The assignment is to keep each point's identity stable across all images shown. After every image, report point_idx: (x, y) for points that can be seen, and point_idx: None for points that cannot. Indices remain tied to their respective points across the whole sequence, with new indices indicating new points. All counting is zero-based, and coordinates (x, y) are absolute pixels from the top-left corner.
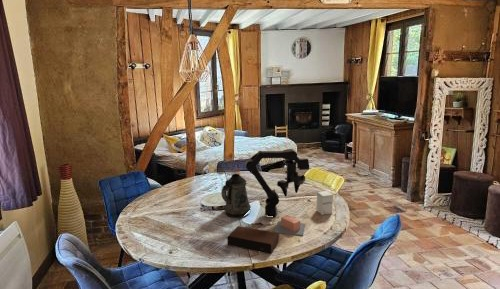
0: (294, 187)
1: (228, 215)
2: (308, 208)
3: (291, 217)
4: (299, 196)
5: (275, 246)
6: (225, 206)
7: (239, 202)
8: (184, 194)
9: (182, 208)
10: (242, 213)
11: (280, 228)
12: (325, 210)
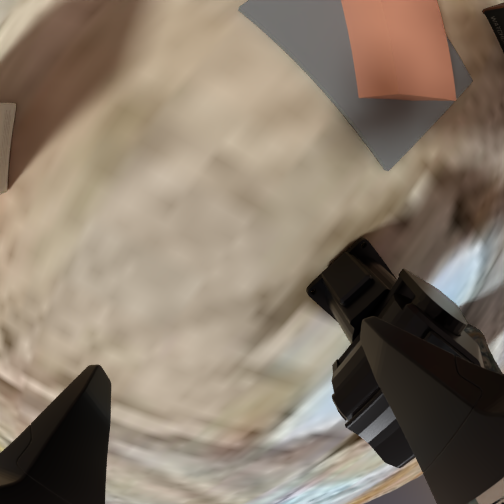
0: (105, 467)
1: None
2: (37, 251)
3: (396, 33)
4: (44, 397)
5: (501, 3)
6: None
7: (497, 372)
8: (403, 470)
9: None
10: (467, 328)
11: None
12: None
